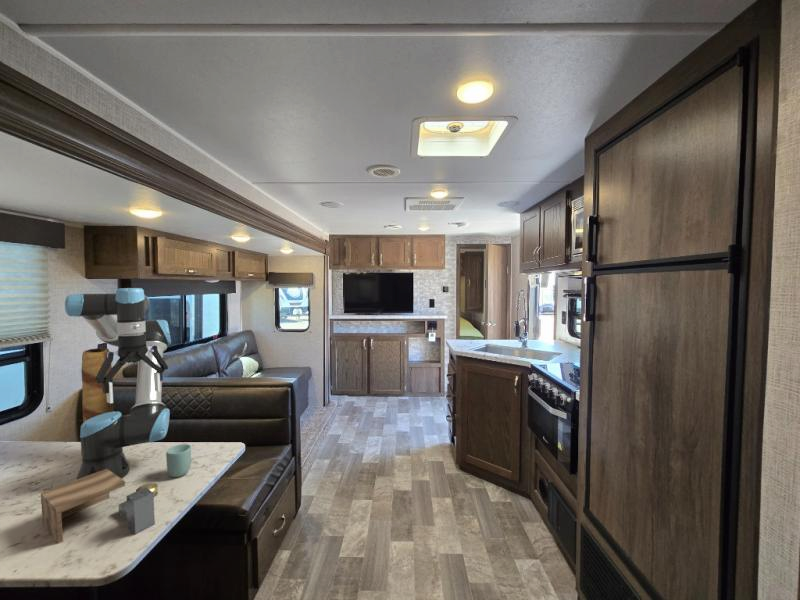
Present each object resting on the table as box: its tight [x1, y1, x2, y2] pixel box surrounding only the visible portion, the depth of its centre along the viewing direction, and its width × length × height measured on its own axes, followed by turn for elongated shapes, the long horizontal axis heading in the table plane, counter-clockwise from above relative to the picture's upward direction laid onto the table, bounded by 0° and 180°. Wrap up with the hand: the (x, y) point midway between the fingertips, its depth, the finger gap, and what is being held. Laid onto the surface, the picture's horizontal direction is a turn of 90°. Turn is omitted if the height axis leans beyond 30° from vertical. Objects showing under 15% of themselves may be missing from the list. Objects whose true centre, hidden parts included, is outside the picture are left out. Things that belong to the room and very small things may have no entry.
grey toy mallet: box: [118, 487, 156, 535], centre depth 107 cm, size 15×5×10 cm, turn 58°
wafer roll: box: [81, 347, 114, 423], centre depth 146 cm, size 10×11×45 cm
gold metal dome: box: [135, 482, 159, 498], centre depth 119 cm, size 6×6×3 cm
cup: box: [165, 443, 192, 478], centre depth 132 cm, size 8×8×10 cm
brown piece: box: [40, 469, 126, 544], centre depth 108 cm, size 14×16×10 cm
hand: (134, 396), depth 117 cm, fingers open, 13 cm apart
